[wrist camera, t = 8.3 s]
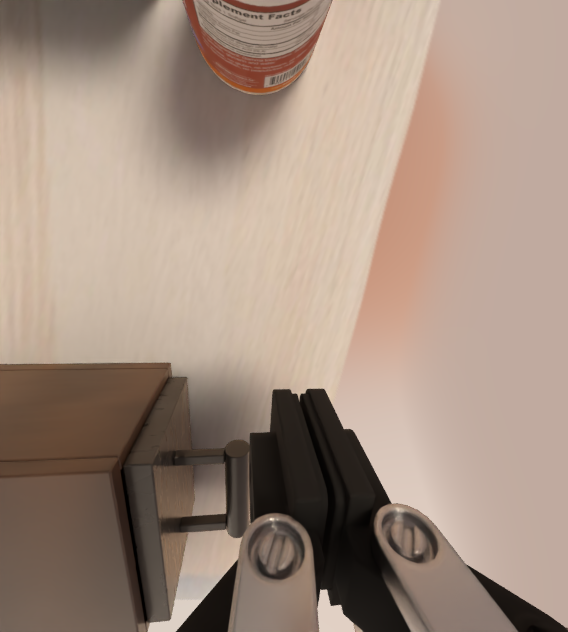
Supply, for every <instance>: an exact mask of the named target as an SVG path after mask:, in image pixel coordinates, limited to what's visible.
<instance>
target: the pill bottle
mask: <svg viewBox="0 0 568 632" xmlns="http://www.w3.org/2000/svg"><path fill="white" fill-rule="evenodd" d="M183 3H184V6H185V9H186V13H187V16H188V19H189V22H190V25H191V29H192V32H193V35H194V37H195V40H196V43H197V45H198V47H199V50H200V52H201V54H202V56H203V58H204V59H205V61H206V63H207V64H208V66H209V67H210V68H211V69H212V71H213V72H214V73H215V74H216V75H217V76H218V77H219V78H220V79H221V80H222V81H223V82H225V83H226V84H227V85H229V86H230V87H232V88H234V89H236V90H238V91H241V92H244V93H247V94H252V95H266V94H271V93H275V92H277V91H280V90H282V89H284V88H285V87H287V86H288V85H290V84H291V83H292V82H293V81H295V80H296V79H297V78H298V76H299V75H300V74H301V73H302V71H303V70H304V69H305V67H306V65H307V64H308V62H309V60H310V58H311V55H312V53H313V51H314V48H315V45H316V43H317V40H318V37H319V35H320V32H321V30H322V27H323V24H324V21H325V19H326V16H327V13H328V11H329V8H330V5H331V3H332V0H183Z"/></svg>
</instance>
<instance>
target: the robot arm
mask: <svg viewBox="0 0 568 632" xmlns="http://www.w3.org/2000/svg"><path fill="white" fill-rule="evenodd" d="M249 494H250V525H249V527H248V528H247V530H246V531H245V533H244V534H243V538H242V541H241V545H240V551H239V558H238V560H237V561H236V562H235V563H234V565H233V566H232V567H231V568H230V569H229V570H228V572H227V573H226V574H225V575H224V576H223V577H222V579H221V580H220V581H219V582H218V583H217V584H216V586H215V587H214V588H213V589H212V590H211V591H210V593H209V594H208V595H207V596H206V597H205V598H204V600H203V601H202V602H201V603H200V604H199V605H198V607H197V608H196V609H195V610H194V611H193V612H192V614H191V615H190V616H189V617H188V618H187V620H186V621H185V622H184V623H183V624H182V625H181V627H180V628H179V629H178V630H177V631H176V632H319V625H318V612H317V607H318V601H319V594H320V589H321V590H325V589H327V590H328V595H329V600H330V604H331V606H334V605H341V606H342V610H343V614H344V615H345V616H346V617H348V618H349V619H350V620H351V621H352V622H353V623H354V629H355V632H568V628H565V627H564V626H563V625H561V624H560V623H558V622H557V621H556V620H554V619H553V618H552V617H550V616H549V615H547V614H545V613H544V612H542V611H541V610H539V609H537V608H536V607H534V606H533V605H531V604H529V603H528V602H526V601H525V600H523V599H521V598H519V597H518V596H516V595H515V594H513V593H511V592H510V591H508V590H507V589H505V588H504V587H502V586H500V585H499V584H497V583H495V582H494V581H492V580H491V579H489V578H487V577H486V576H484V575H483V574H481V573H479V572H478V571H476V570H474V569H473V568H471V567H470V566H468V565H466V564H465V563H464V561H463V560H462V559H461V557H460V556H459V555H458V554H457V552H456V551H455V550H454V548H453V547H452V546H451V545H450V543H449V542H448V541H447V539H446V538H445V537H444V536H443V534H442V533H441V532H440V530H439V529H438V528H437V527H436V526H435V525H434V523H433V522H432V521H431V520H430V519H429V518H428V517H427V516H425V515H424V514H422V513H421V512H420V511H418V510H416V509H414V508H412V507H410V506H407V505H403V504H392V503H391V502H390V500H389V498H388V496H387V494H386V492H385V490H384V488H383V486H382V484H381V483H380V481H379V479H378V477H377V475H376V473H375V471H374V469H373V467H372V465H371V463H370V461H369V459H368V458H367V456H366V454H365V452H364V450H363V448H362V446H361V444H360V442H359V440H358V439H357V436H356V435H355V433H354V432H353V430H351V429H343V427H342V424H341V422H340V420H339V418H338V416H337V414H336V412H335V410H334V408H333V406H332V404H331V402H330V400H329V397H328V395H327V393H326V391H325V390H324V389H307V390H306V394H301V395H300V402H299V399H298V396H297V394H292V393H291V390H290V389H282V390H273V394H272V409H271V425H270V432H265V433H250V445H249Z"/></svg>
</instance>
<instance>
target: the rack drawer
mask: <svg viewBox="0 0 568 632" xmlns="http://www.w3.org/2000/svg"><path fill="white" fill-rule="evenodd" d="M224 462H225V484H226V514H218V515H203V516H192V511H193V506H194V501H195V491H194V476H193V465H207V464H224ZM120 472H121V478H122V484H123V490H124V497H125V503H126V509H127V515H128V521H129V528H130V534H131V540H132V546H133V552H134V559H135V565H136V564H137V561H138V565H139V572H140V578H141V584H142V591H143V597H144V604H145V610H146V616H147V622H148V623H151V622H160V621H169V620H170V619H171V615H172V610H173V606H174V600H175V596H176V591H177V586H178V581H179V576H180V571H181V566H182V561H183V556H184V551H185V546H186V541H187V536H188V532H199V531H213V530H225V529H226V526H227V532H228V534H229V535H230V536H232V537H234V538H240V537H242V536H243V534H244V533H245V531H246V530H247V528H248V527H249V517H250V494H249V444H248V443H247V442H246V441H244V440H233V441H231V442H229V443H228V444H227V445H226V447H225V448H217V449H193V450H192V445H191V430H190V415H189V400H188V385H187V378H186V377H181V378H168V380H167V382H166V384H165V385H164V387H163V389H162V391H161V393H160V395H159V397H158V399H157V401H156V403H155V405H154V407H153V409H152V411H151V412H150V414H149V416H148V418H147V420H146V422H145V424H144V426H143V428H142V430H141V432H140V434H139V436H138V438H137V439H136V441H135V443H134V445H133V447H132V449H131V451H130V453H129V455H128V457H127V459H126V461H125V463H124V465H123V468H122V469H121V470H120Z"/></svg>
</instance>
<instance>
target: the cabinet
mask: <svg viewBox="0 0 568 632" xmlns="http://www.w3.org/2000/svg"><path fill="white" fill-rule="evenodd" d="M168 378H172V372H171V363H108V364H7V365H0V632H147V631H148V627H149V623H148V622H147V616H146V610H145V604H144V597H143V591H142V584H141V578H140V572H139V565H138V561H137V564H136V565H135V559H134V552H133V546H132V540H131V534H130V528H129V521H128V515H127V509H126V503H125V497H124V490H123V484H122V478H121V472H120V470H121V469H122V468H123V465H124V463H125V461H126V459H127V457H128V455H129V453H130V451H131V449H132V447H133V445H134V443H135V441H136V439H137V438H138V436H139V434H140V432H141V430H142V428H143V426H144V424H145V422H146V420H147V418H148V416H149V414H150V412H151V411H152V409H153V407H154V405H155V403H156V401H157V399H158V397H159V395H160V393H161V391H162V389H163V387H164V385H165V384H166V382H167V380H168Z"/></svg>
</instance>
